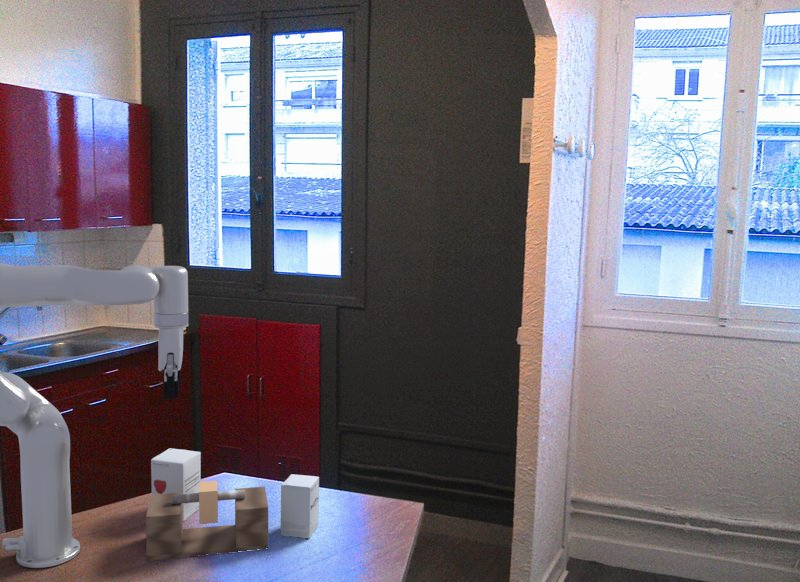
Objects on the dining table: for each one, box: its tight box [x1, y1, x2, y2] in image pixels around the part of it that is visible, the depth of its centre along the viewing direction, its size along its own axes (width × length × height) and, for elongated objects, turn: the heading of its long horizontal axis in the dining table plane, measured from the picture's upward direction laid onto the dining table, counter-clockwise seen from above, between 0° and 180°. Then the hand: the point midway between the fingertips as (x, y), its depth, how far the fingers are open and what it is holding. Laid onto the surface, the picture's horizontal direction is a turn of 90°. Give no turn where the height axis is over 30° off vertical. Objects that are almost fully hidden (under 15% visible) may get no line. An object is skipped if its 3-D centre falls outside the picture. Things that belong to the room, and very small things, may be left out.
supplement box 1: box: [150, 447, 202, 522], centre depth 182 cm, size 9×9×15 cm
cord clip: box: [198, 480, 219, 525], centre depth 166 cm, size 4×6×8 cm, turn 14°
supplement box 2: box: [280, 473, 320, 540], centre depth 174 cm, size 7×7×13 cm
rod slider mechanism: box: [145, 486, 269, 562], centre depth 167 cm, size 26×12×12 cm, turn 104°
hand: (172, 392), depth 170 cm, fingers open, 9 cm apart
